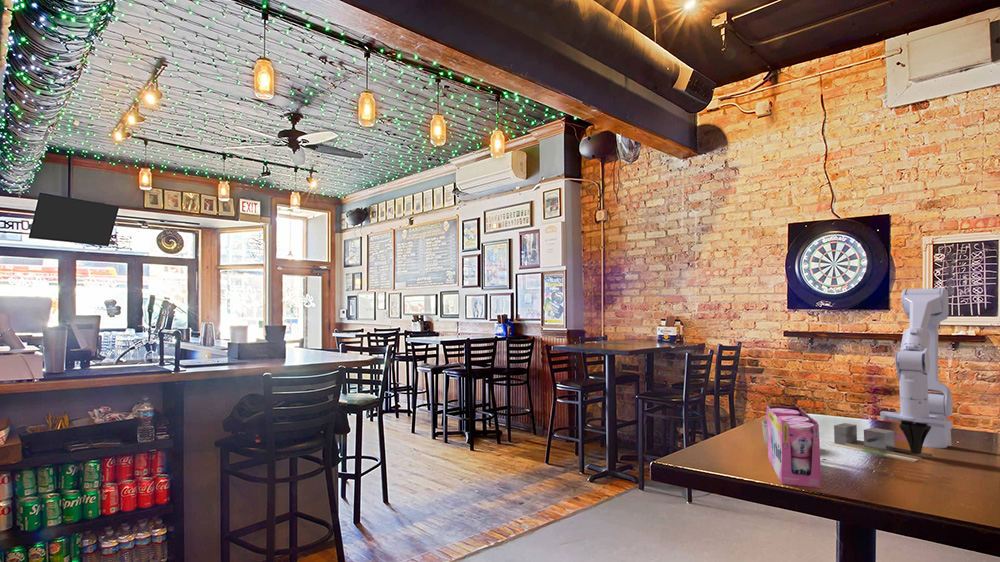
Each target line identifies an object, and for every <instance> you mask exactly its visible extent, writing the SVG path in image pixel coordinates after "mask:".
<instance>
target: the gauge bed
mask: <svg viewBox="0 0 1000 562" xmlns="http://www.w3.org/2000/svg"><path fill="white" fill-rule="evenodd" d="M857 429H858V428H857V424H852V423H846V422H843V423H840V424H839V423H838V424H835V425H833V435H834V437H833V438H834V441H833V442H828V443H826V444H827V445H828V446H832V447H836V448H837V447H838V448H843V449H848V450H853V451H857V452H862V453H867V454H871V455H877V456H881V457H887V458H893V459H896V460H902V461H906V462H907V461H908V462H913V463H915V462H922V461H923V459H922V457H919V456H924V457H928V458H933V453H929V452H925V451H921V453H920V454H916V455H915V454H914V453H911V449H910V448H909V449H908V448H903V447H898V446H895V451H897V452H895V451H891V452H890V451H885V450H880V449H874V448H869V447H864V440H858V430H857ZM858 444H860V445H858ZM900 452H902V453H900ZM906 453H907V454H906ZM909 454H911V455H909ZM912 454H913V455H912ZM917 455H918V456H917Z"/></svg>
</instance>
